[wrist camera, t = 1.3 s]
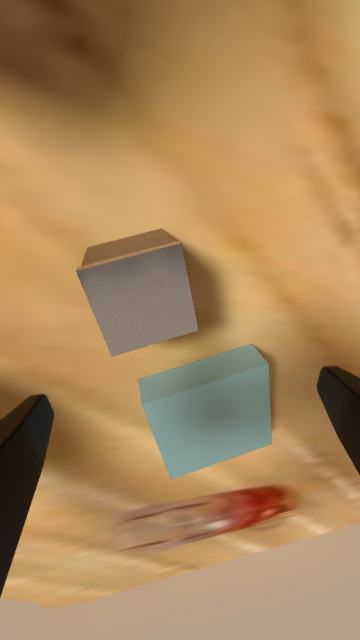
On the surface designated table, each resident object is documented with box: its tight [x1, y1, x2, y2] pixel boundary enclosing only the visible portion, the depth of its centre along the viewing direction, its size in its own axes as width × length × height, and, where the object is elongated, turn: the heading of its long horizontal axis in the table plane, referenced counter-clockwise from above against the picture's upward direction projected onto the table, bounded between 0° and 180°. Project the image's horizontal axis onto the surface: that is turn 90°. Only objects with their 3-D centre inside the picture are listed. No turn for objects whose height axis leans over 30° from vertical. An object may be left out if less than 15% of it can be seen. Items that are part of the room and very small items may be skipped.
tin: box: [76, 229, 199, 356], centre depth 17 cm, size 5×5×6 cm
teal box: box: [138, 344, 272, 480], centre depth 26 cm, size 11×11×4 cm
